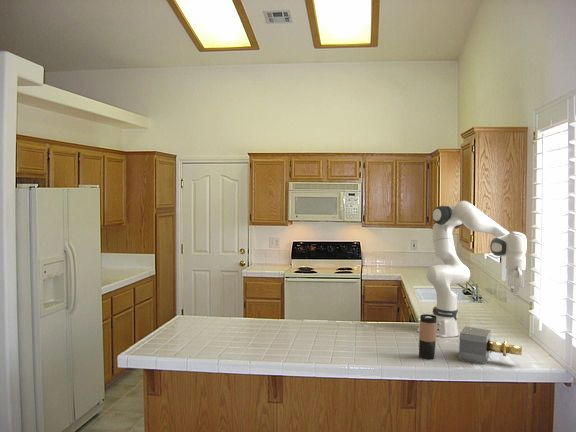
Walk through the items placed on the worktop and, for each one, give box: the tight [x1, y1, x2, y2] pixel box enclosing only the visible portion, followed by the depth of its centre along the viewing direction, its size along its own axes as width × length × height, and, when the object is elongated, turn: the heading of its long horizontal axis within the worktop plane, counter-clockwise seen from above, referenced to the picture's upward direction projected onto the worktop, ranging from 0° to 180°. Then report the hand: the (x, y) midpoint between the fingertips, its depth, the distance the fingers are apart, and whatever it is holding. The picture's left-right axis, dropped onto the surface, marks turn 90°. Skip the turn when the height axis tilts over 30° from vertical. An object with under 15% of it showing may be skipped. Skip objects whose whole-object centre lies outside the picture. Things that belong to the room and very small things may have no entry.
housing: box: [458, 325, 492, 365], centre depth 256 cm, size 12×14×13 cm
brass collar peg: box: [487, 340, 523, 357], centre depth 250 cm, size 15×7×7 cm, turn 62°
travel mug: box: [418, 313, 437, 361], centre depth 254 cm, size 8×8×20 cm
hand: (513, 293), depth 259 cm, fingers open, 8 cm apart
